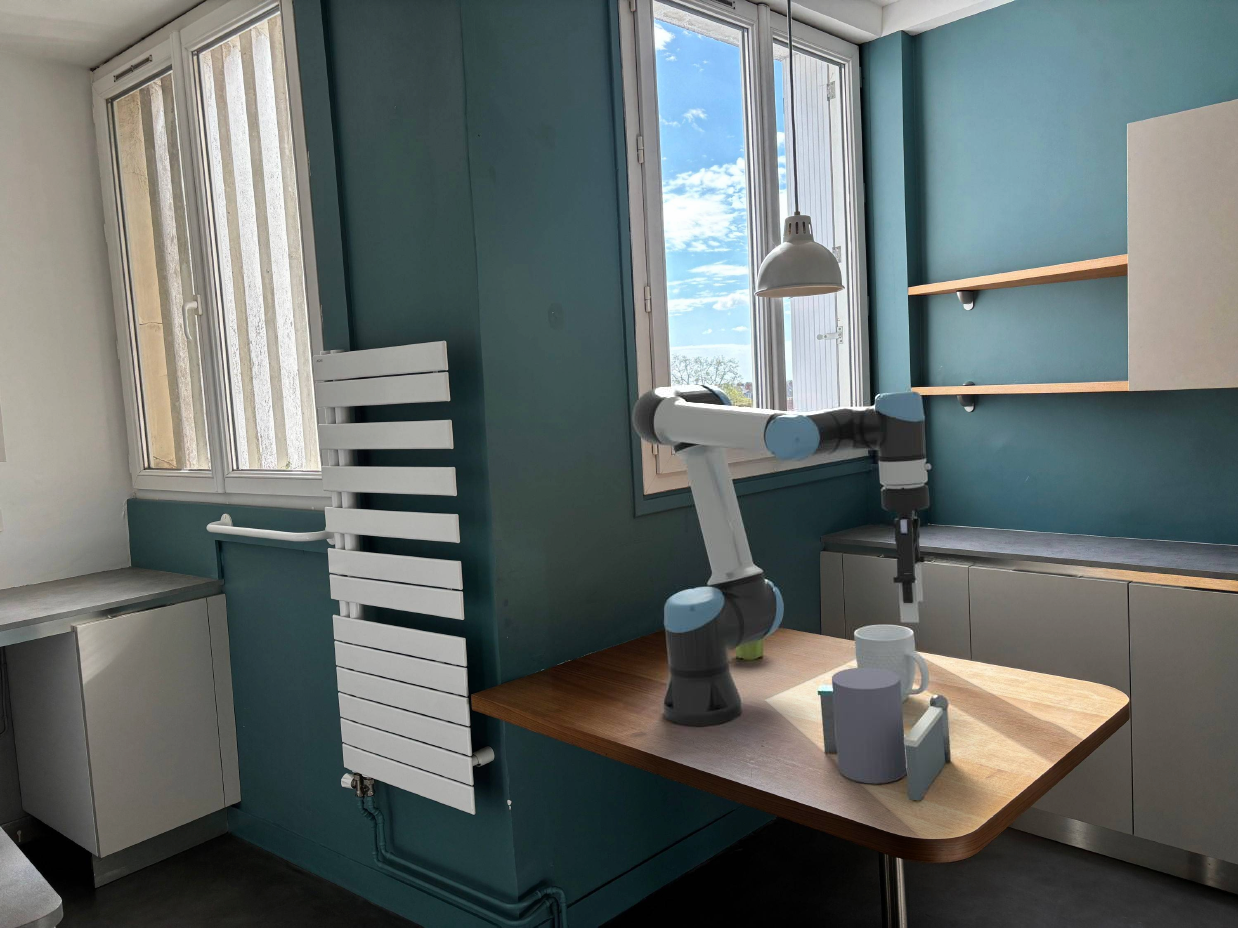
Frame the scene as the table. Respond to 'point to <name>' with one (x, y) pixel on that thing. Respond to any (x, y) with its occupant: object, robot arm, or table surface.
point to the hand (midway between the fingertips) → (912, 611)
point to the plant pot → (750, 650)
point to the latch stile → (828, 719)
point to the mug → (891, 654)
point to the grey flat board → (924, 752)
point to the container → (869, 724)
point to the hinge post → (943, 703)
